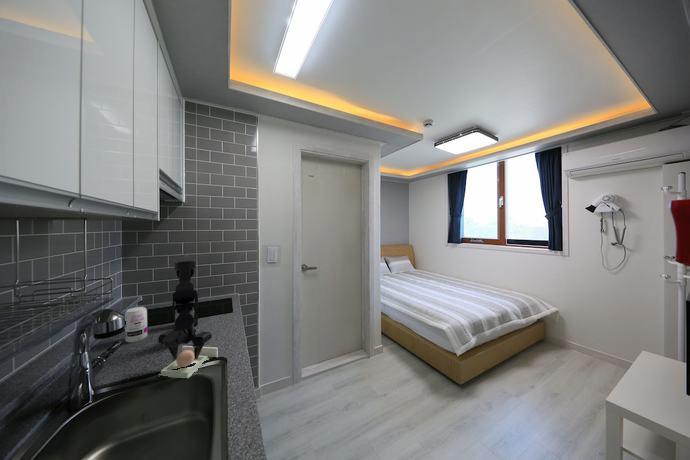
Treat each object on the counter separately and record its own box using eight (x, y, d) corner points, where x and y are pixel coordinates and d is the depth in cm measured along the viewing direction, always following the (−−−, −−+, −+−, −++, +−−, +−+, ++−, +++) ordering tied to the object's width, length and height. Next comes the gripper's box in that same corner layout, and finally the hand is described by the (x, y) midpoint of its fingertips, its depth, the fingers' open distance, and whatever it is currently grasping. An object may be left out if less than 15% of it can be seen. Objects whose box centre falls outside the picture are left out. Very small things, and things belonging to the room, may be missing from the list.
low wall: (182, 355, 101) (181, 346, 101) (183, 354, 102) (183, 345, 102) (216, 357, 99) (216, 348, 99) (217, 356, 100) (217, 347, 100)
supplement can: (138, 334, 120) (138, 305, 120) (151, 335, 118) (151, 307, 118) (120, 342, 112) (120, 311, 112) (134, 344, 110) (133, 312, 110)
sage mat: (158, 376, 87) (158, 371, 87) (183, 358, 99) (183, 353, 99) (188, 378, 86) (188, 373, 86) (209, 359, 98) (209, 355, 98)
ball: (172, 370, 90) (172, 354, 90) (184, 360, 96) (184, 346, 96) (186, 370, 89) (186, 355, 89) (198, 361, 95) (197, 347, 95)
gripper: (144, 327, 85) (145, 369, 85) (191, 329, 83) (192, 372, 84) (169, 315, 96) (170, 352, 96) (212, 317, 94) (212, 355, 95)
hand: (185, 358), depth 93 cm, fingers open, 9 cm apart
